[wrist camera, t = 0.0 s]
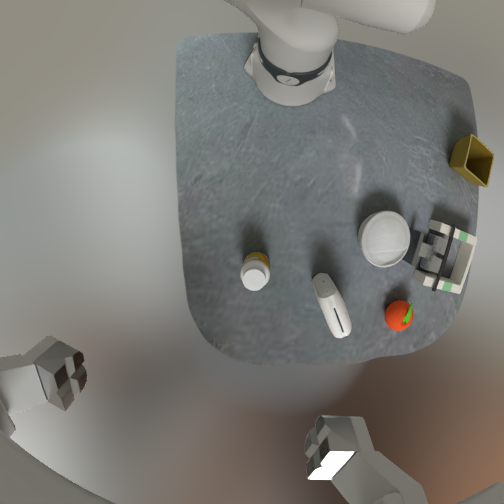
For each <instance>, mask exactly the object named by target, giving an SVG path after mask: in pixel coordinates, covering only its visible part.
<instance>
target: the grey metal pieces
mask: <svg viewBox="0 0 504 504" xmlns="http://www.w3.org/2000/svg"><path fill="white" fill-rule="evenodd" d="M455 228H456V225H453V224H452V228H451V232H450V236H449V239H448V240H447V239H445V238H442V237H439V236H437V235H434V234H431V233H429V236H428V239H427V243H424V242H423V238H424V235H425V234H424V233H421V232H419V231H416V230H413V229H410V244H409V247H408V250H407V252H406V254H405V255H404V257H403V258H402V259H403V260H404V261H406V262H407V263H409V264H411V265H413V266H415V264H416V261H417V258H418V256H421V257H422V259H421V262H420V265H419V266H420V267H421V268H423V269H425V270H428V271H431V272H435V273H438V275H437V277H436V280H435V283H434V286H433V288H432V291H436V289H437V286H438V283H439V280H440V278H441V275H442V272H443V269H444V266H445V263H446V260H447V257H448V253H449V250H450V247H451V243H452V240H453V236H454V232H455Z"/></svg>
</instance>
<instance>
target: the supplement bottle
mask: <svg viewBox="0 0 504 504" xmlns="http://www.w3.org/2000/svg"><path fill="white" fill-rule="evenodd" d="M240 275H241V279H242V281H243V284H244V285H245V287H246V288H248V289H249V290H253V291H256V290H259V289H261V288H262V287H263V286H264V285H265V284H266V283H267V282H268V280H269V277H270V262H269V259H268V257H267V256H266V255H265V254H263V253H260V252H253V253H250V254H249V255H248V256H247V257H246V258H245V260H244V262H243V266H242V269H241V274H240Z"/></svg>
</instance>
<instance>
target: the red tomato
mask: <svg viewBox="0 0 504 504" xmlns="http://www.w3.org/2000/svg"><path fill="white" fill-rule="evenodd" d="M410 301H411V300H410ZM412 320H413V310H412V302H411V305H409V303H407V302H405V301H402V300H398V301H394V302H393V303H391V304H390V305H389V306H388V308H387V309H386V312H385V321H386V323H387V325H388V326H389V327H390V328H391V329H393V330H397V331H400V330H403V329H406V328H407V327H408V326H409V325H410V324H411V322H412Z"/></svg>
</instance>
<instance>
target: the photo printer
mask: <svg viewBox="0 0 504 504" xmlns="http://www.w3.org/2000/svg"><path fill="white" fill-rule="evenodd" d="M312 284H313V288H314V291H315V293H316V296H317V299H318V301H319V304H320V306H321V309H322V311H323V314H324V316H325V319H326V321H327V323H328V326H329V328H330V330H331V332H332V333H333V335H334V336H335V337H337V338H343V337H344V336H348V335H349V334H350V332H351V321H350V318H349V314H348V312H347V309H346V306H345V304H344V301H343V299H342V297H341V295H340V293H339V291H338V289H337V288H336V286H335V285H334V283H333V281H332V280H331V278H330V276H329V275H328V274H327V273H319V274H317V275H316V276H315V277H314V278H313V279H312Z"/></svg>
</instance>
